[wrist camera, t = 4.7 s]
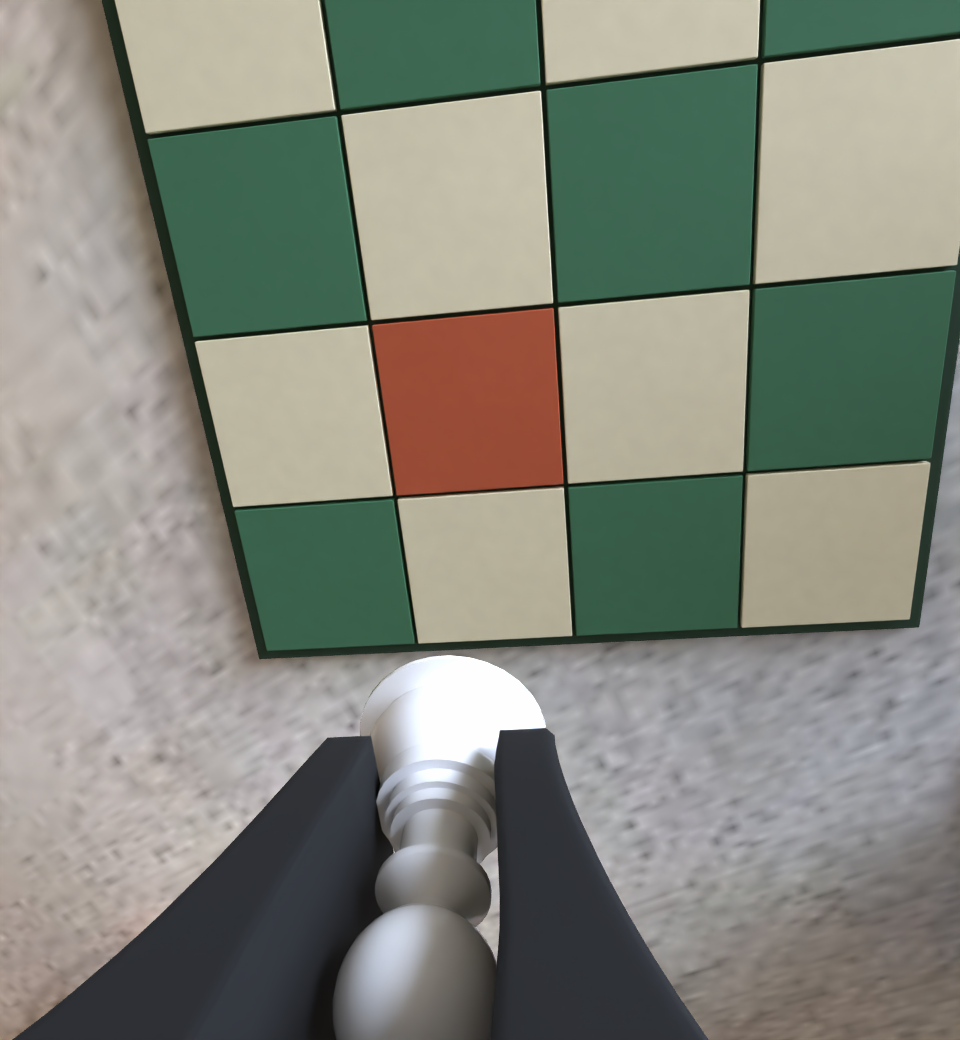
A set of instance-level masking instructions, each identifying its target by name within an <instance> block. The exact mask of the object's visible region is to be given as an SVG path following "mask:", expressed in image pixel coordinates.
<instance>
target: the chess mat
mask: <svg viewBox="0 0 960 1040" xmlns="http://www.w3.org/2000/svg"><path fill="white" fill-rule="evenodd" d="M102 4H103V8H104V12H105V16H106V20H107V25H108V29H109V33H110V37H111V41H112V45H113V50H114V54H115V58H116V62H117V66H118V70H119V75H120V79H121V83H122V87H123V91H124V96H125V100H126V104H127V108H128V112H129V116H130V121H131V125H132V129H133V133H134V137H135V141H136V146H137V150H138V154H139V158H140V162H141V167H142V171H143V175H144V179H145V183H146V187H147V192H148V196H149V200H150V204H151V208H152V212H153V217H154V221H155V225H156V229H157V233H158V238H159V242H160V246H161V250H162V254H163V258H164V263H165V267H166V271H167V275H168V279H169V283H170V288H171V292H172V296H173V300H174V304H175V309H176V313H177V317H178V321H179V325H180V329H181V334H182V338H183V342H184V346H185V350H186V355H187V359H188V363H189V367H190V371H191V375H192V380H193V384H194V388H195V392H196V396H197V400H198V405H199V409H200V413H201V417H202V421H203V426H204V430H205V434H206V438H207V442H208V446H209V451H210V455H211V459H212V463H213V467H214V471H215V476H216V480H217V484H218V488H219V492H220V497H221V501H222V505H223V509H224V513H225V517H226V522H227V526H228V530H229V534H230V538H231V542H232V547H233V551H234V555H235V559H236V563H237V568H238V572H239V576H240V580H241V584H242V588H243V593H244V597H245V601H246V605H247V609H248V613H249V618H250V622H251V626H252V630H253V634H254V639H255V643H256V647H257V651H258V655H259V659H271V658H292V657H313V656H333V655H354V654H375V653H396V652H416V651H437V650H458V649H479V648H499V647H520V646H541V645H562V644H583V643H603V642H624V641H645V640H666V639H686V638H707V637H728V636H749V635H769V634H790V633H811V632H832V631H853V630H873V629H894V628H915V627H919V625H920V618H921V611H922V603H923V596H924V589H925V582H926V575H927V568H928V560H929V553H930V546H931V539H932V532H933V525H934V517H935V510H936V503H937V496H938V489H939V482H940V474H941V467H942V460H943V453H944V446H945V439H946V431H947V424H948V417H949V410H950V403H951V396H952V388H953V381H954V374H955V367H956V360H957V353H958V345H959V338H960V0H102Z"/></svg>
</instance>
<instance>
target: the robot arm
mask: <svg viewBox="0 0 960 1040" xmlns="http://www.w3.org/2000/svg"><path fill="white" fill-rule="evenodd" d="M494 779H495V802H496V823H497V844H498V866H499V887H500V931H499V944H498V956H497V969H496V981H495V993H494V1005H493V1017H492V1027H491V1038H490V1040H708V1038H707V1037H706V1035H705V1034H704V1032H703V1031H702V1029H701V1028H700V1026H699V1025H698V1024H697V1022H696V1021H695V1019H694V1018H693V1016H692V1015H691V1013H690V1012H689V1010H688V1009H687V1008H686V1006H685V1005H684V1003H683V1002H682V1000H681V999H680V997H679V996H678V994H677V993H676V991H675V989H674V988H673V986H672V985H671V983H670V982H669V980H668V979H667V977H666V975H665V974H664V972H663V971H662V969H661V968H660V966H659V965H658V963H657V961H656V960H655V958H654V957H653V955H652V953H651V952H650V950H649V948H648V947H647V945H646V944H645V942H644V940H643V939H642V937H641V935H640V933H639V932H638V930H637V928H636V927H635V925H634V923H633V921H632V920H631V918H630V916H629V914H628V913H627V911H626V909H625V907H624V905H623V904H622V902H621V900H620V898H619V896H618V895H617V893H616V891H615V889H614V887H613V885H612V884H611V882H610V880H609V878H608V876H607V874H606V872H605V870H604V868H603V866H602V864H601V862H600V860H599V858H598V856H597V854H596V852H595V850H594V848H593V845H592V843H591V841H590V839H589V837H588V835H587V833H586V830H585V828H584V826H583V824H582V822H581V820H580V817H579V815H578V813H577V810H576V808H575V805H574V803H573V801H572V798H571V795H570V793H569V790H568V787H567V784H566V782H565V779H564V776H563V773H562V770H561V766H560V763H559V759H558V755H557V750H556V746H555V736H554V734H552V733H551V732H550V731H549V730H547V729H546V728H534V729H512V730H500V731H499V737H498V742H497V748H496V755H495V762H494ZM379 786H380V780H379V775H378V769H377V764H376V759H375V754H374V749H373V744H372V738H371V736H355V737H333V738H327V739H326V740H325V741H324V742H323V743H322V744H321V745H320V747H319V748H318V749H317V750H316V751H315V752H314V753H313V754H312V755H311V756H310V757H309V758H308V760H307V761H306V762H305V763H304V764H303V765H302V766H301V767H300V768H299V770H298V771H297V772H296V773H295V774H294V775H293V776H292V777H291V778H290V780H289V781H288V782H287V783H286V784H285V785H284V786H283V787H282V789H281V790H280V791H279V792H278V793H277V794H276V795H275V796H274V797H273V799H272V800H271V801H270V802H269V803H268V804H267V805H266V806H265V807H264V809H263V810H262V811H261V812H260V813H259V814H258V815H257V816H256V817H255V818H254V819H253V821H252V822H251V823H250V824H249V825H248V826H247V827H246V828H245V829H244V830H243V831H242V832H241V833H240V834H239V836H238V837H237V838H236V839H235V840H234V841H233V842H232V843H231V844H230V845H229V846H228V847H227V848H226V849H225V851H224V852H223V853H222V854H221V855H220V856H219V857H218V858H217V859H216V860H215V861H214V862H213V863H212V864H211V865H210V866H209V867H208V868H207V869H206V870H205V871H204V872H203V873H202V874H201V875H200V876H199V877H198V878H197V879H196V880H195V881H194V882H193V883H192V884H191V885H190V886H189V887H188V888H187V889H186V890H185V891H184V892H183V893H182V894H181V895H180V896H179V897H178V898H177V899H176V900H175V901H174V902H173V903H172V904H171V905H170V906H169V907H168V908H167V909H166V910H165V911H164V912H163V913H161V914H160V915H159V916H158V917H157V918H156V919H155V920H154V921H153V922H152V923H151V924H150V925H149V926H148V927H147V928H146V929H144V930H143V931H142V932H141V933H140V934H139V935H138V936H137V937H136V938H135V939H133V940H132V941H131V942H130V943H129V944H128V945H127V946H126V947H125V948H123V949H122V950H121V951H120V952H119V953H118V954H117V955H116V956H114V957H113V958H112V959H111V960H110V961H109V962H107V963H106V964H105V965H104V966H103V967H102V968H100V969H99V970H98V971H97V972H96V973H95V974H93V975H92V976H91V977H90V978H89V979H88V980H86V981H85V982H84V983H83V984H82V985H81V986H79V987H78V988H77V989H76V990H75V991H73V992H72V993H71V994H70V995H69V996H68V997H66V998H65V999H64V1000H63V1001H61V1002H60V1003H59V1004H58V1005H57V1006H55V1007H54V1008H53V1009H52V1010H50V1011H49V1012H48V1013H47V1014H45V1015H44V1016H43V1017H41V1018H40V1019H39V1020H37V1021H36V1022H35V1023H34V1024H32V1025H31V1026H30V1027H28V1028H27V1029H26V1030H24V1031H23V1032H22V1033H21V1034H19V1035H18V1036H17V1037H15V1038H14V1039H13V1040H336V1037H335V1033H334V1030H333V1012H332V1000H333V993H334V987H335V982H336V979H337V975H338V972H339V969H340V967H341V964H342V961H343V959H344V957H345V955H346V953H347V952H348V950H349V949H350V947H351V946H352V944H353V942H354V941H355V939H356V938H357V936H358V935H359V934H360V933H361V932H362V931H363V930H364V929H365V928H366V927H367V926H368V925H369V924H370V923H371V922H372V921H373V920H375V919H376V918H378V917H379V916H381V915H383V912H382V911H381V910H380V908H379V906H378V904H377V901H376V897H375V882H376V878H377V875H378V871H379V869H380V868H381V866H382V864H383V863H384V862H385V861H386V860H387V859H388V858H389V857H390V856H391V855H392V854H393V847H392V845H391V843H390V841H389V839H388V838H387V837H386V835H385V834H384V833H383V831H382V828H381V823H380V818H379V813H378V808H377V803H376V800H377V795H378V791H379Z"/></svg>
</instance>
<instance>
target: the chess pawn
mask: <svg viewBox="0 0 960 1040" xmlns="http://www.w3.org/2000/svg"><path fill="white" fill-rule="evenodd" d="M534 728H546V724H545V720H544V718H543V715H542V712H541V709H540V707H539V705H538V704H537V702H536V701H535V699H534V697H533V696H532V694H531V693H530V692H529V691H528V690H527V689H526V688H525V687H524V686H523V685H522V684H521V683H520V681H518V680H517V679H516V678H514V677H513V676H511V675H510V674H508V673H507V672H506V671H504V670H502V669H500V668H498V667H496V666H494V665H492V664H489V663H487V662H484V661H480V660H476V659H473V658H469V657H460V656H450V655H449V656H435V657H428V658H424V659H420V660H416V661H412V662H410V663H408V664H406V665H404V666H402V667H399V668H397V669H396V670H394V671H393V672H392V673H390V674H389V675H388V676H386V677H385V678H383V679H382V681H381V682H380V683H379V684H378V685H377V686H376V687H375V689H374V690H373V691H372V693H371V695H370V696H369V698H368V700H367V702H366V704H365V706H364V710H363V714H362V718H361V722H360V736H371V738H372V744H373V749H374V754H375V759H376V764H377V769H378V775H379V780H380V786H379V791H378V795H377V800H376V803H377V808H378V813H379V818H380V823H381V828H382V831H383V833H384V834H385V835H386V837H387V838H388V839H389V841H390V843H391V845H392V847H393V849H394V851H395V853H394V854H392V855H391V856H390V857H389V858H388V859H387V860H386V861H385V862H384V863H383V864H382V866H381V868H380V869H379V871H378V875H377V878H376V882H375V897H376V901H377V904H378V906H379V908H380V910H381V911H382V912H383V915H381V916H379V917H378V918H376V919H375V920H373V921H372V922H371V923H370V924H369V925H368V926H367V927H366V928H365V929H364V930H363V931H362V932H361V933H360V934H359V935H358V936H357V938H356V939H355V941H354V942H353V944H352V946H351V947H350V949H349V950H348V952H347V953H346V955H345V957H344V959H343V961H342V964H341V967H340V969H339V972H338V975H337V979H336V982H335V987H334V993H333V1000H332V1012H333V1030H334V1033H335V1037H336V1040H490V1038H491V1027H492V1017H493V1005H494V993H495V981H496V969H497V961H496V959H495V957H494V954H493V952H492V950H491V948H490V946H489V945H488V943H487V941H486V939H485V938H484V937H483V935H482V934H481V933H480V931H479V930H478V929H477V928H476V926H478V925H479V924H480V923H481V922H482V921H483V919H484V918H485V917H486V915H487V913H488V911H489V908H490V905H491V895H492V890H491V884H490V880H489V878H488V876H487V873H486V872H485V871H484V869H483V868H482V866H481V865H480V863H481V862H482V861H483V860H484V859H485V857H486V856H487V855H488V854H489V853H491V852H492V851H494V850H495V849H496V848H497V847H498V844H497V823H496V802H495V779H494V762H495V755H496V748H497V742H498V737H499V731H500V730H512V729H534Z"/></svg>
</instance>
